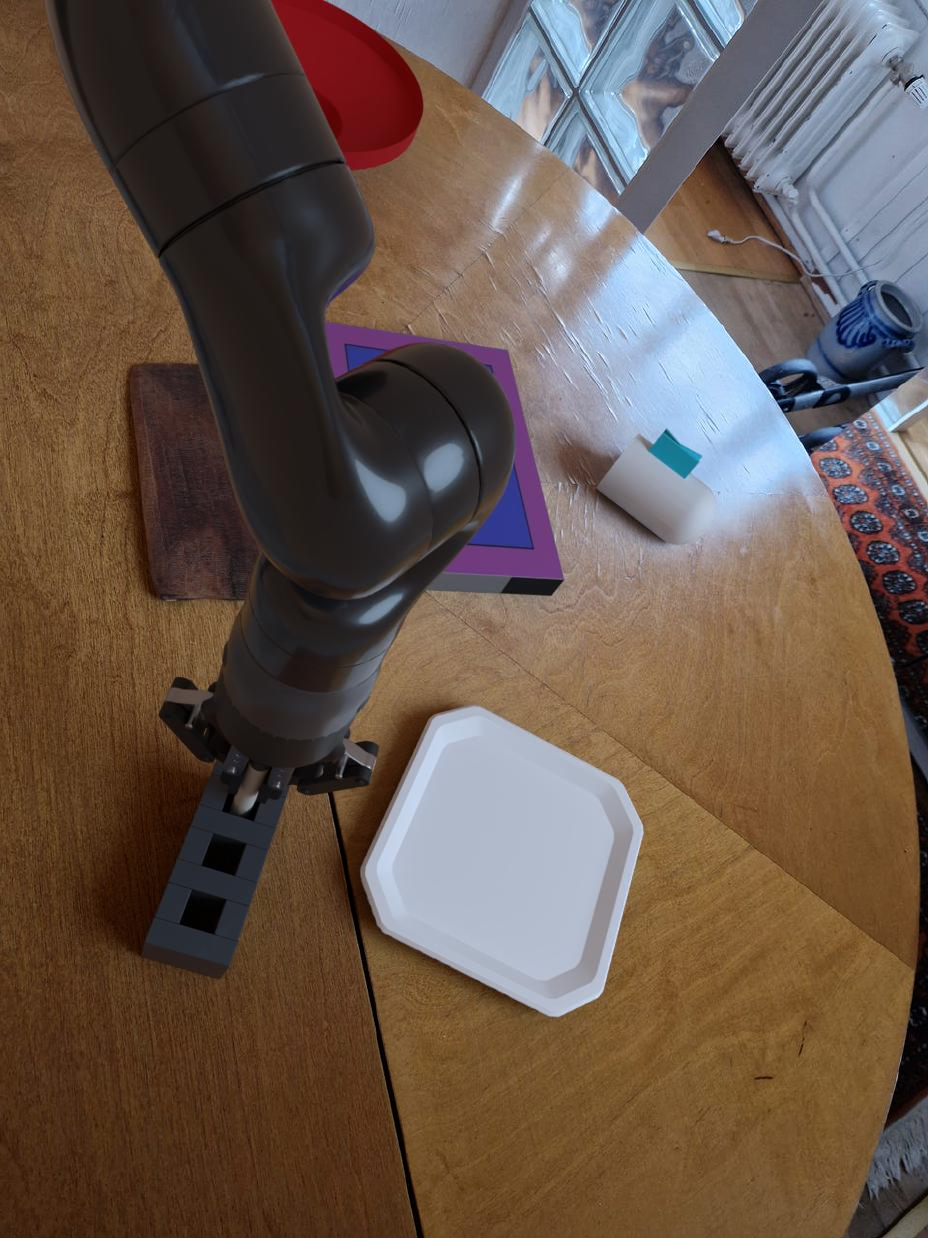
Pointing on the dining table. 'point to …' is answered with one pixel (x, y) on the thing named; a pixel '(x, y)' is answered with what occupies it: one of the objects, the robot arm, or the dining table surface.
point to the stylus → (248, 789)
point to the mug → (661, 488)
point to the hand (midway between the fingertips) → (250, 784)
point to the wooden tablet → (187, 489)
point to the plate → (505, 860)
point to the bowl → (354, 81)
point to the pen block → (212, 882)
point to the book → (519, 525)
